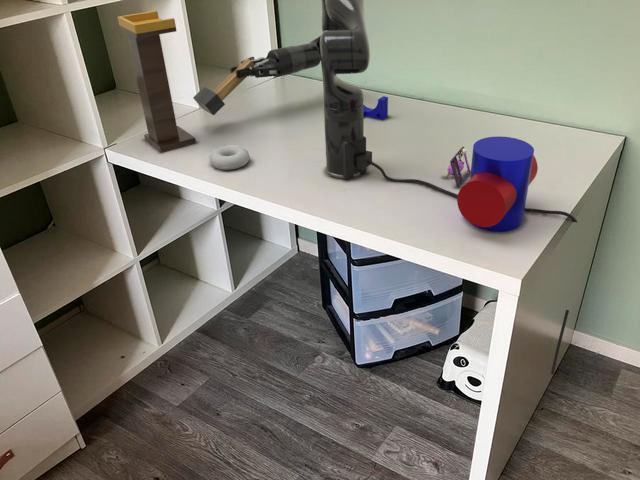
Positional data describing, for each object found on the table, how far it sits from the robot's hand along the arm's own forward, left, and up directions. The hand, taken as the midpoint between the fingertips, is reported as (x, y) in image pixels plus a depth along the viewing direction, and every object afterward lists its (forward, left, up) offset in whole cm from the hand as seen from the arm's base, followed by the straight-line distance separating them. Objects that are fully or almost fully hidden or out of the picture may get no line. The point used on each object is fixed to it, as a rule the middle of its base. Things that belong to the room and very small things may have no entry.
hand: (234, 73), depth 172 cm
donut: (-23, +16, -14) cm, 31 cm away
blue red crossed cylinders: (-84, -15, -14) cm, 86 cm away
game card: (-65, -22, -14) cm, 70 cm away
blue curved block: (-19, -32, -14) cm, 40 cm away
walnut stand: (0, +22, -14) cm, 26 cm away
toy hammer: (0, +2, -4) cm, 4 cm away
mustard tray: (0, +22, +16) cm, 27 cm away
